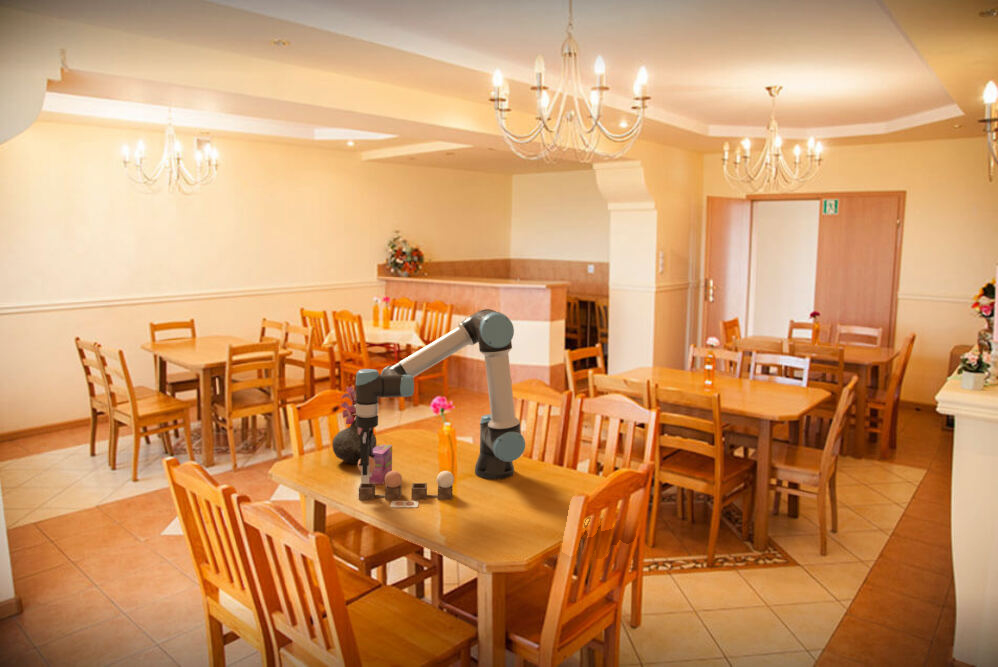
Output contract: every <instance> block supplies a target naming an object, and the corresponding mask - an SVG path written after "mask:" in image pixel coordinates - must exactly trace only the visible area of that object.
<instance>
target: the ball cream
mask: <svg viewBox="0 0 998 667" xmlns="http://www.w3.org/2000/svg"><path fill="white" fill-rule="evenodd" d="M454 482H455V477H454V475H453V474H452V472H450V471H448V470H443V471H440V472H439V473H438V475H437V477H436V483H437V485H439V486H440V487H441V488H449V487H451V486H452V485H453V484H454Z"/></svg>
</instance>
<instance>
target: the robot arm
mask: <svg viewBox="0 0 998 667" xmlns="http://www.w3.org/2000/svg"><path fill="white" fill-rule="evenodd" d="M514 332H515V328H514V324H513V322H512V321H511V319H510V318H509V317H508V316H507V315H506V314H504V313H502V312H499V311H496V310H495V309H490V308H483V309H480V310H478V311H477V312H475V313H473V314H472V315H470V316H469V317H467V318H465V319H464V320H462V321H460V322H458V326H457V327H456V328H454V329H452V330H451V331H449V332H447V333H445V334H444V335H442V336H440V337H439V338H437V339H435V340H434V341H432V342H430V343H429V344H427V345H425V346H424V347H422V348H420V349H419V350H417V351H415V352H413V353H412V354H410V355H409V356H408V357H405V358H403V359H402V360H400V361H399V362H398V363H395V364H394V365H388V366H386V367H384V368H383V369H382V371H381V373H379V370H377V369H373V368H372V369H371V368H361V369H358V371H357V372H356V375H355V391H356V394H355V397H356V405H354V407H355V408H356V414H357V415H356V417H355V418H356V426H357V427H359V428H362V431H361V432H360V437H361V438H360V441H361V454H360V464H359V466H361V471H360V484H369V477H372V472H370V473H369V456H370V457H372V458H374V455H372V454H373V434H374V428H377V427H378V425H379V416H378V414H379V398H406V397H412V396H413V395H414V392H415V391H414V390H415V380H414V378H415V377H417V376H419V375H420V374H421V373H423V372H425V371H427V370H429V369H430V368H432V367H433V366H435V365H437V364H439V363H440V362H442V361H443V360H445V359H447V358H448V357H450V356H452V355H453V354H455V353H457V352H459V351H460V350H462V349H463V348H466V347H467V346H474V345H475V344H478V348H479V352H480V353H481V354H482V355H483V357H484V364H485V373H486V383H487V389H488V390H487V391H488V399H489V408H490V410H489V411H490V413H489V414H485V415H482V416H481V418H480V423H479V426H480V428H479V429H480V430H479V432H480V433H479V434H480V435H479V455H478V457H477V460H476V463H475V466H474V473H475V475H476V476H477V477H479V478H482V479H486V480H504V479H505V480H506V479H508V478H511V477H512V476H514V474H515V467H514V464H513V462H515V461H516V460H518V459H519V458H521V456H522V455H523V454H524V452H525V449H526V440H525V438H524V436H523V435H522V433H521V432H522V431H521V424H520V419H518V417H516V416H515V404H514V395H513V385H512V384H513V383H512V376H511V366H510V354H509V353H510V351H511V350H512V349H513V343H512V340H513V338H514V334H515V333H514Z"/></svg>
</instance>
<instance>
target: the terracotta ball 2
mask: <svg viewBox="0 0 998 667" xmlns="http://www.w3.org/2000/svg"><path fill="white" fill-rule="evenodd" d="M402 482H403V477H402V474H401V473H400V472H399V471H397V470H392V471H390V472H388V473H387V474H386V476H385V482H384V483H385V486H386V485H387V486H388V487H389V488H397V487H399V486H400V484H401V485H402Z"/></svg>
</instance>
